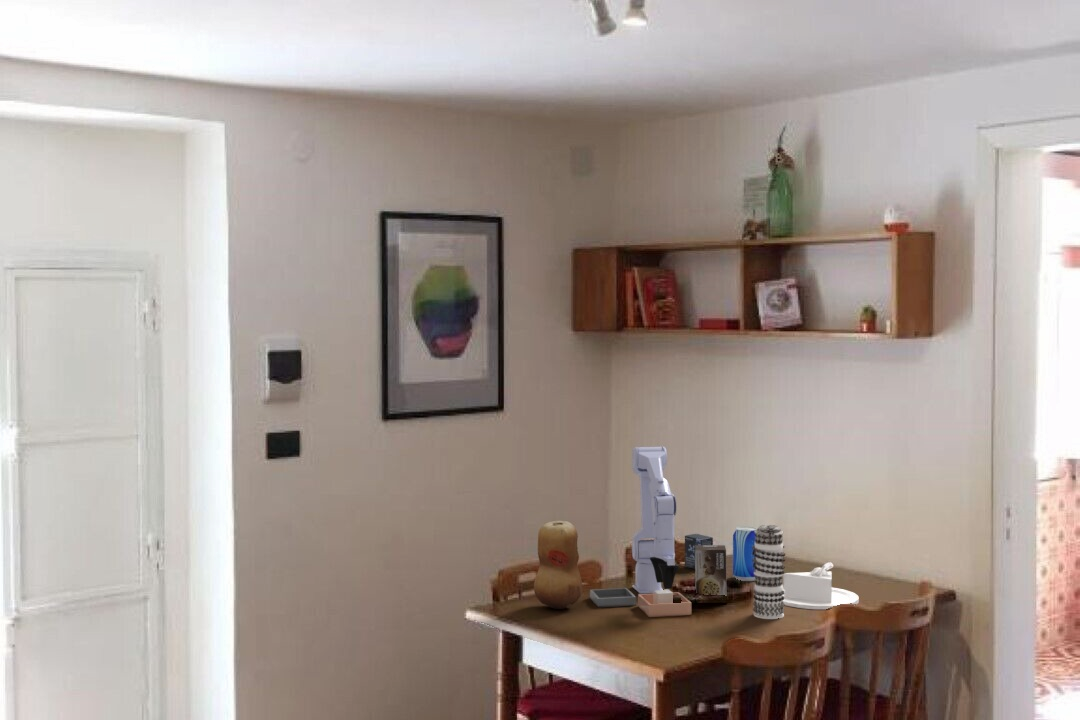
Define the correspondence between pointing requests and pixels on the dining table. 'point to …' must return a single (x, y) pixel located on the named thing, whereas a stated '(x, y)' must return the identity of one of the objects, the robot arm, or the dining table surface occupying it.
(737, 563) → the beer can
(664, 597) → the white cube
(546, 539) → the butternut squash
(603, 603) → the tray
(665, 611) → the bin
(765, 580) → the decorative candle
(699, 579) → the coffee box
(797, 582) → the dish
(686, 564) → the box
